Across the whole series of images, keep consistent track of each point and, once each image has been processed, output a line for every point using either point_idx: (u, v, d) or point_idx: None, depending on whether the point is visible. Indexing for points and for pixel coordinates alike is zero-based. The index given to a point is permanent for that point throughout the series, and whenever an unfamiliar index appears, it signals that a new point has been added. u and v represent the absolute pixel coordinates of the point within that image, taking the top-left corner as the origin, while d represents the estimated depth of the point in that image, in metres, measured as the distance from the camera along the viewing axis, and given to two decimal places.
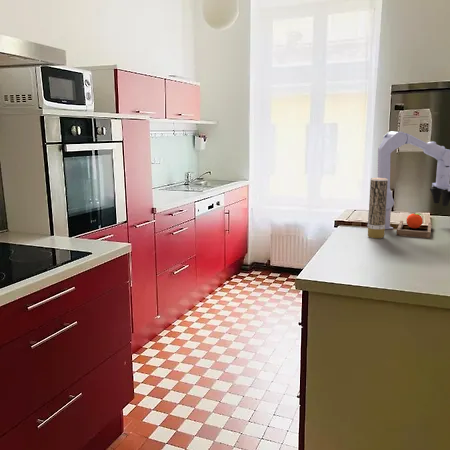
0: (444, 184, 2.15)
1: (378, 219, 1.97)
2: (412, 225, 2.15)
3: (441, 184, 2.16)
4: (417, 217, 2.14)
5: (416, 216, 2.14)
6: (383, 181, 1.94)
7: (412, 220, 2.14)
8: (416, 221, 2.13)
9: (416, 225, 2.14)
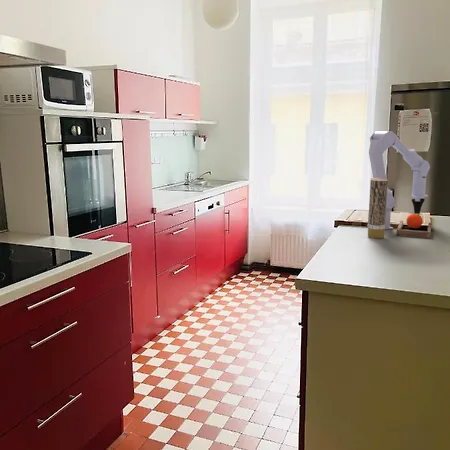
0: (416, 194, 2.20)
1: (378, 219, 1.97)
2: (412, 225, 2.15)
3: (414, 194, 2.21)
4: (417, 217, 2.14)
5: (416, 216, 2.14)
6: (383, 181, 1.94)
7: (412, 220, 2.14)
8: (416, 221, 2.13)
9: (416, 225, 2.14)
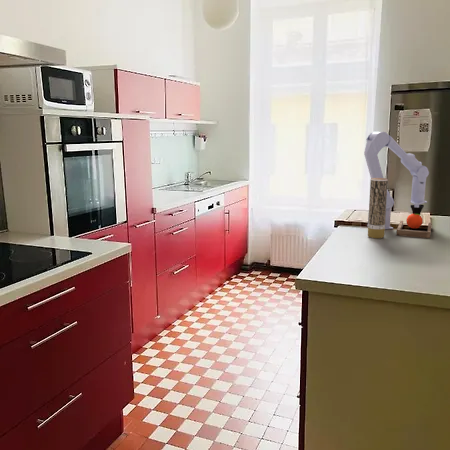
0: (415, 200, 2.16)
1: (378, 219, 1.97)
2: (412, 225, 2.14)
3: (413, 200, 2.17)
4: (417, 217, 2.13)
5: (416, 216, 2.14)
6: (383, 181, 1.94)
7: (412, 220, 2.14)
8: (416, 221, 2.13)
9: (416, 225, 2.14)
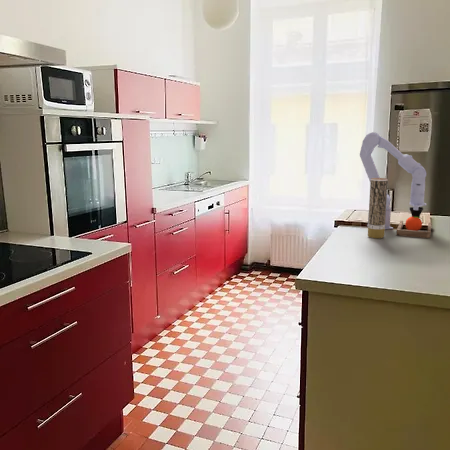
0: (415, 202, 2.10)
1: (378, 219, 1.97)
2: (411, 228, 2.08)
3: (412, 202, 2.11)
4: (416, 220, 2.07)
5: (415, 219, 2.07)
6: (383, 181, 1.94)
7: (411, 223, 2.07)
8: (415, 224, 2.07)
9: (415, 228, 2.07)
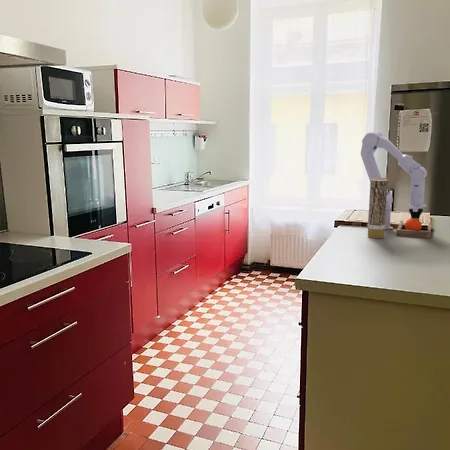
0: (414, 204, 2.06)
1: (378, 219, 1.97)
2: None
3: (411, 204, 2.07)
4: (415, 222, 2.04)
5: (415, 221, 2.04)
6: (383, 181, 1.94)
7: (410, 225, 2.04)
8: (415, 226, 2.03)
9: (415, 230, 2.04)
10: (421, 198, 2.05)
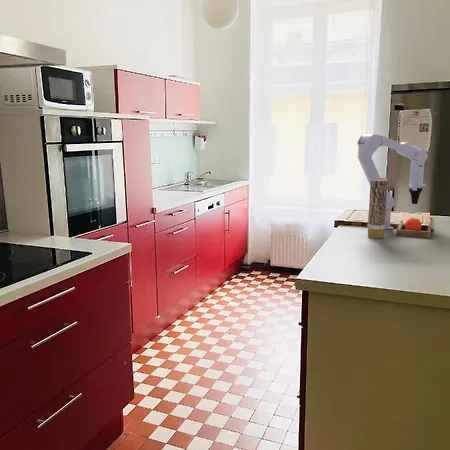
0: (414, 183, 2.16)
1: (378, 219, 1.97)
2: None
3: (411, 183, 2.17)
4: (415, 222, 2.04)
5: (415, 221, 2.04)
6: (383, 181, 1.94)
7: (410, 225, 2.04)
8: (415, 226, 2.03)
9: (415, 230, 2.04)
10: (420, 178, 2.15)
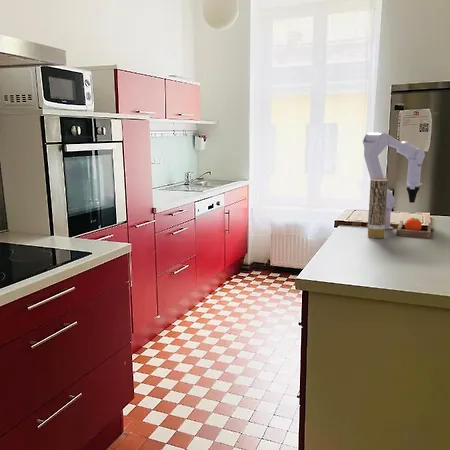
0: (411, 182, 2.20)
1: (378, 219, 1.97)
2: None
3: (409, 182, 2.21)
4: (415, 222, 2.04)
5: (415, 221, 2.04)
6: (383, 181, 1.94)
7: (410, 225, 2.04)
8: (415, 226, 2.03)
9: (415, 230, 2.04)
10: (418, 177, 2.19)
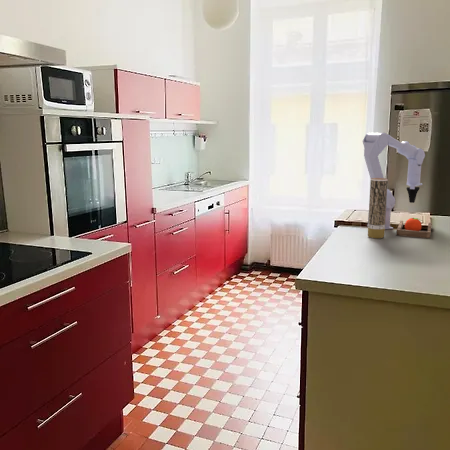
0: (411, 182, 2.20)
1: (378, 219, 1.97)
2: None
3: (409, 182, 2.21)
4: (415, 222, 2.04)
5: (415, 221, 2.04)
6: (383, 181, 1.94)
7: (410, 225, 2.04)
8: (415, 226, 2.03)
9: (415, 230, 2.04)
10: (418, 177, 2.19)
